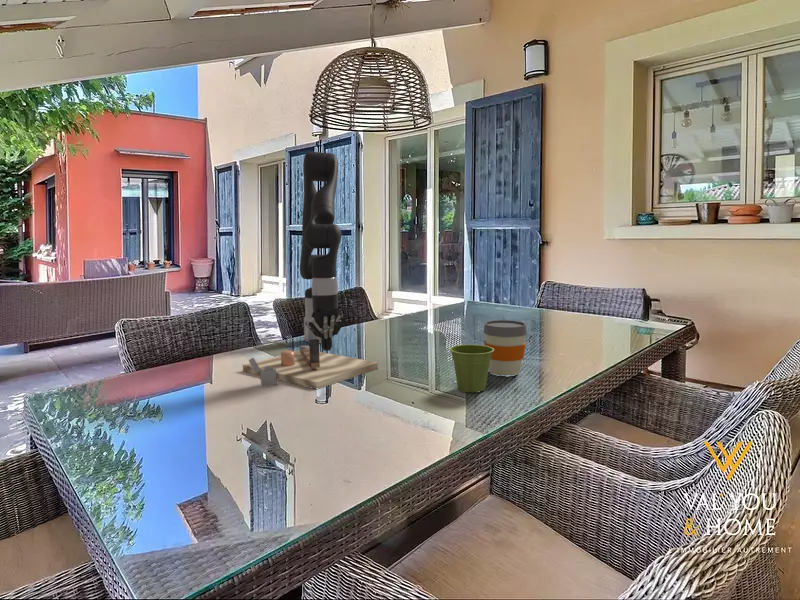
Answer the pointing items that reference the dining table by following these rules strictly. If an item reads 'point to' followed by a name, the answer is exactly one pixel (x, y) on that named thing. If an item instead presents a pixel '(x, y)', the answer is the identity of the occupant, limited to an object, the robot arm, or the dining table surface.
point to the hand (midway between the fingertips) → (326, 350)
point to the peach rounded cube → (287, 358)
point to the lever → (311, 353)
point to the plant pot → (471, 366)
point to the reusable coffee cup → (505, 345)
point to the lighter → (265, 373)
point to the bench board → (315, 369)
